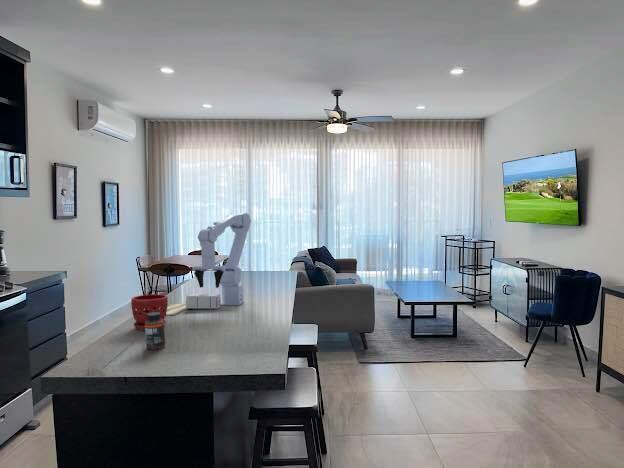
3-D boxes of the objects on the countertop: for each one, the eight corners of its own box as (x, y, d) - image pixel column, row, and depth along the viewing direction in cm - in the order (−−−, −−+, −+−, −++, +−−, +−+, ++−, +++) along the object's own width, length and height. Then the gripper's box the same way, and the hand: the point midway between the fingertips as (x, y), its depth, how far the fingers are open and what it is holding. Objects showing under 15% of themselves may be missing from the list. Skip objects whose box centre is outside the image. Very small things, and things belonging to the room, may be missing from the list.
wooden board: (195, 305, 213) (194, 304, 213) (174, 315, 193) (173, 314, 193) (171, 305, 215) (171, 303, 215) (148, 315, 196) (148, 313, 196)
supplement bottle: (159, 343, 153) (157, 310, 153) (169, 346, 149) (167, 312, 149) (142, 348, 149) (140, 314, 148) (152, 351, 145) (150, 316, 144)
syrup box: (185, 308, 202) (218, 309, 203) (186, 295, 202) (219, 296, 203) (188, 306, 208) (220, 307, 209) (188, 293, 208) (220, 294, 209)
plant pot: (157, 332, 168) (155, 300, 167) (125, 331, 171) (123, 299, 170) (175, 323, 181) (173, 293, 180) (145, 322, 183) (143, 293, 183)
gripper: (188, 257, 197) (190, 288, 197) (220, 257, 194) (221, 288, 194) (196, 255, 203) (197, 286, 204) (226, 255, 201) (227, 286, 201)
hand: (209, 287), depth 200 cm, fingers open, 7 cm apart
